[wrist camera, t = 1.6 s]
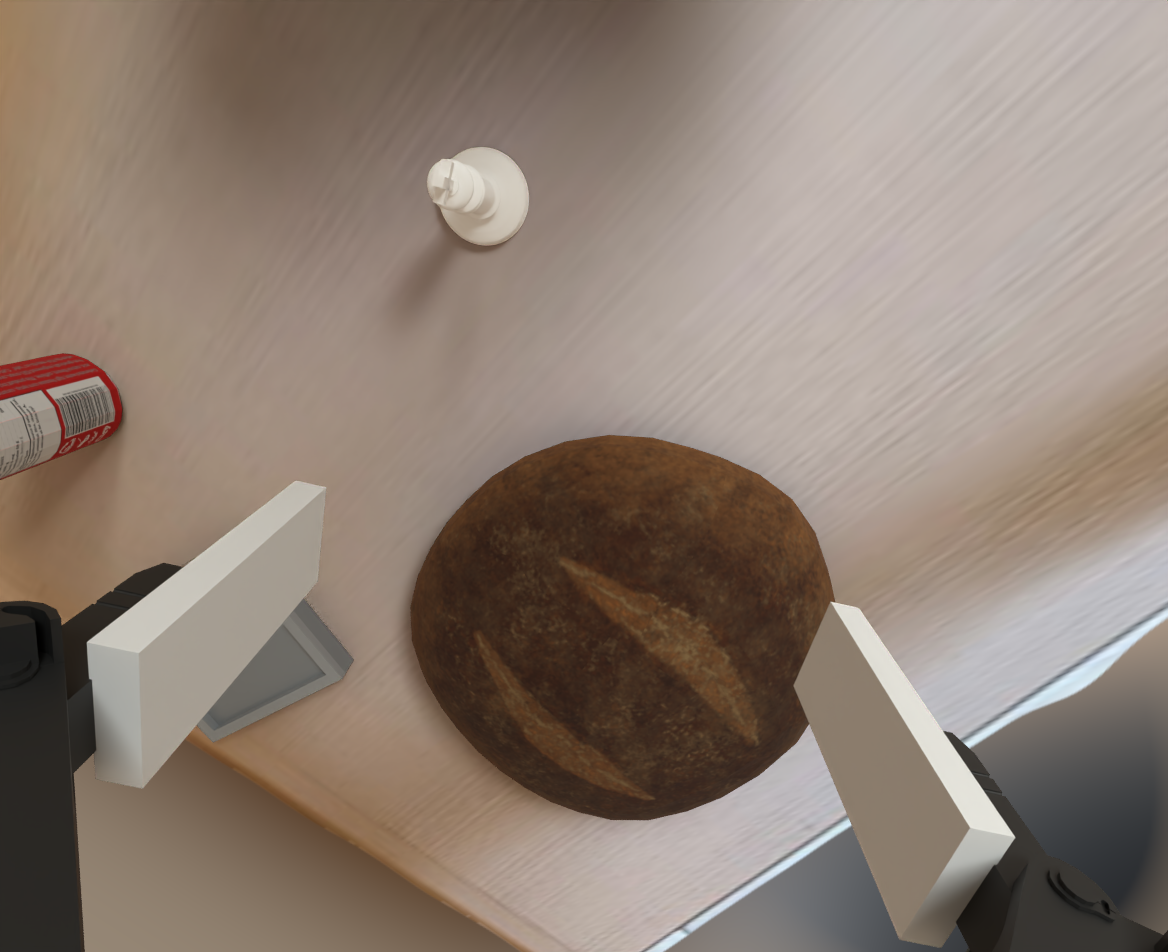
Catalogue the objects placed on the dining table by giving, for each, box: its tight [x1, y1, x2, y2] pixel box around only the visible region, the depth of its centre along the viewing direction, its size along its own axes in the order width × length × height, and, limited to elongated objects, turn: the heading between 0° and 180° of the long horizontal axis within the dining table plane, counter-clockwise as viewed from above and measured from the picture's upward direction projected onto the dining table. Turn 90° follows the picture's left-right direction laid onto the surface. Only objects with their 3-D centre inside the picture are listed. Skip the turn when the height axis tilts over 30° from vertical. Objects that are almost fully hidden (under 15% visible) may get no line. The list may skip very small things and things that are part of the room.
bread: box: [411, 435, 835, 820], centre depth 39 cm, size 28×27×9 cm
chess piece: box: [427, 147, 529, 246], centre depth 29 cm, size 5×5×10 cm
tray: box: [180, 558, 354, 742], centre depth 44 cm, size 12×12×2 cm
